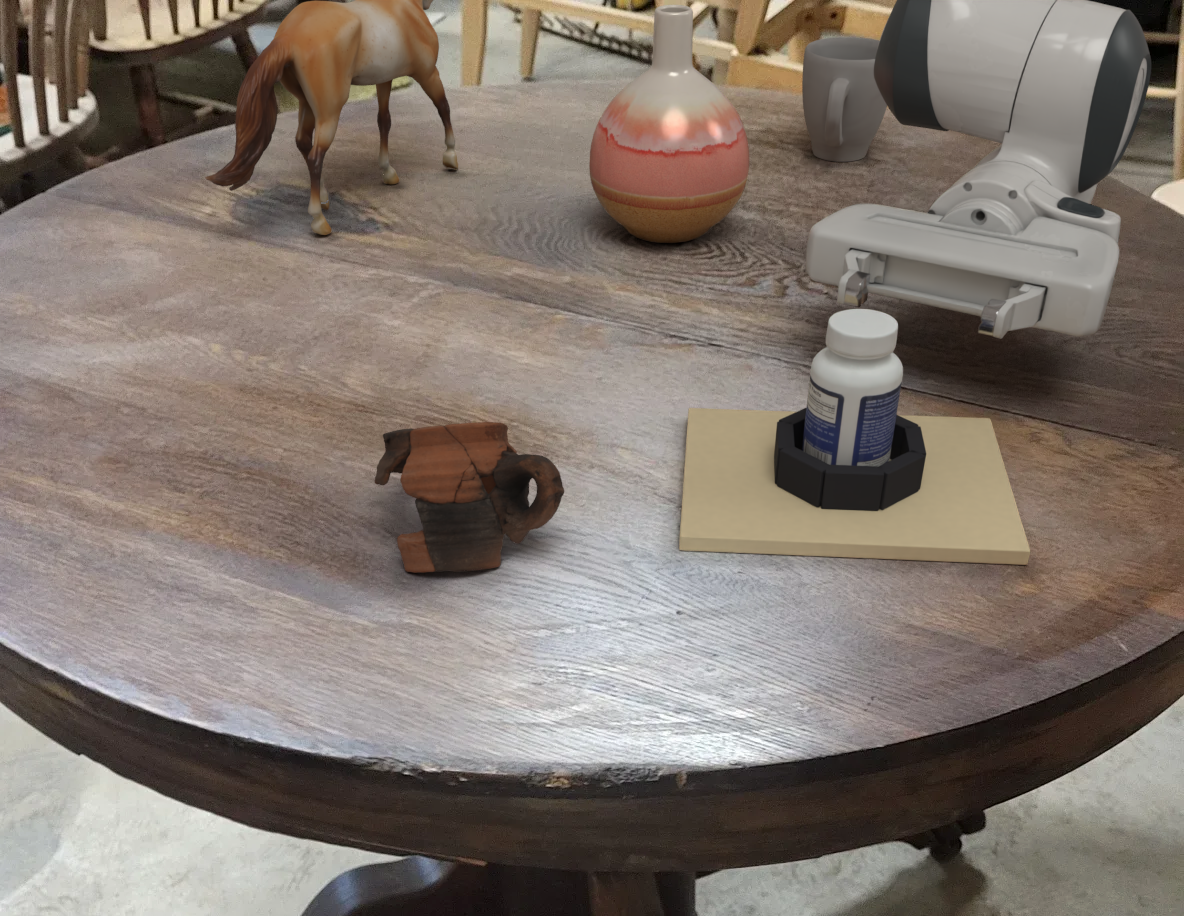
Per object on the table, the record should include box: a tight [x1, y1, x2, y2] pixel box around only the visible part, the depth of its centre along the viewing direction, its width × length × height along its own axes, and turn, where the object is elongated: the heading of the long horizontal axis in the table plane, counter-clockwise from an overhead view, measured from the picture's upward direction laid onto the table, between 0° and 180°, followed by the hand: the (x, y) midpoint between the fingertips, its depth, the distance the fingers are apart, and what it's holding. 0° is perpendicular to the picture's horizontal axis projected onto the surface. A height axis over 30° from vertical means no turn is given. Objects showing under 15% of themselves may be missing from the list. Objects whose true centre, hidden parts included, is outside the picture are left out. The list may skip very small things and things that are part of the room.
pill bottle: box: [802, 308, 904, 466], centre depth 77 cm, size 5×5×10 cm
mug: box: [801, 36, 888, 163], centre depth 126 cm, size 12×9×10 cm
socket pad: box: [678, 407, 1031, 566], centre depth 80 cm, size 20×16×4 cm
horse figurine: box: [204, 0, 459, 236], centre depth 114 cm, size 31×8×21 cm, turn 147°
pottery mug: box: [374, 421, 565, 574], centre depth 76 cm, size 12×10×8 cm
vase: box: [588, 4, 750, 244], centre depth 109 cm, size 14×14×18 cm
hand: (917, 309), depth 82 cm, fingers open, 8 cm apart
